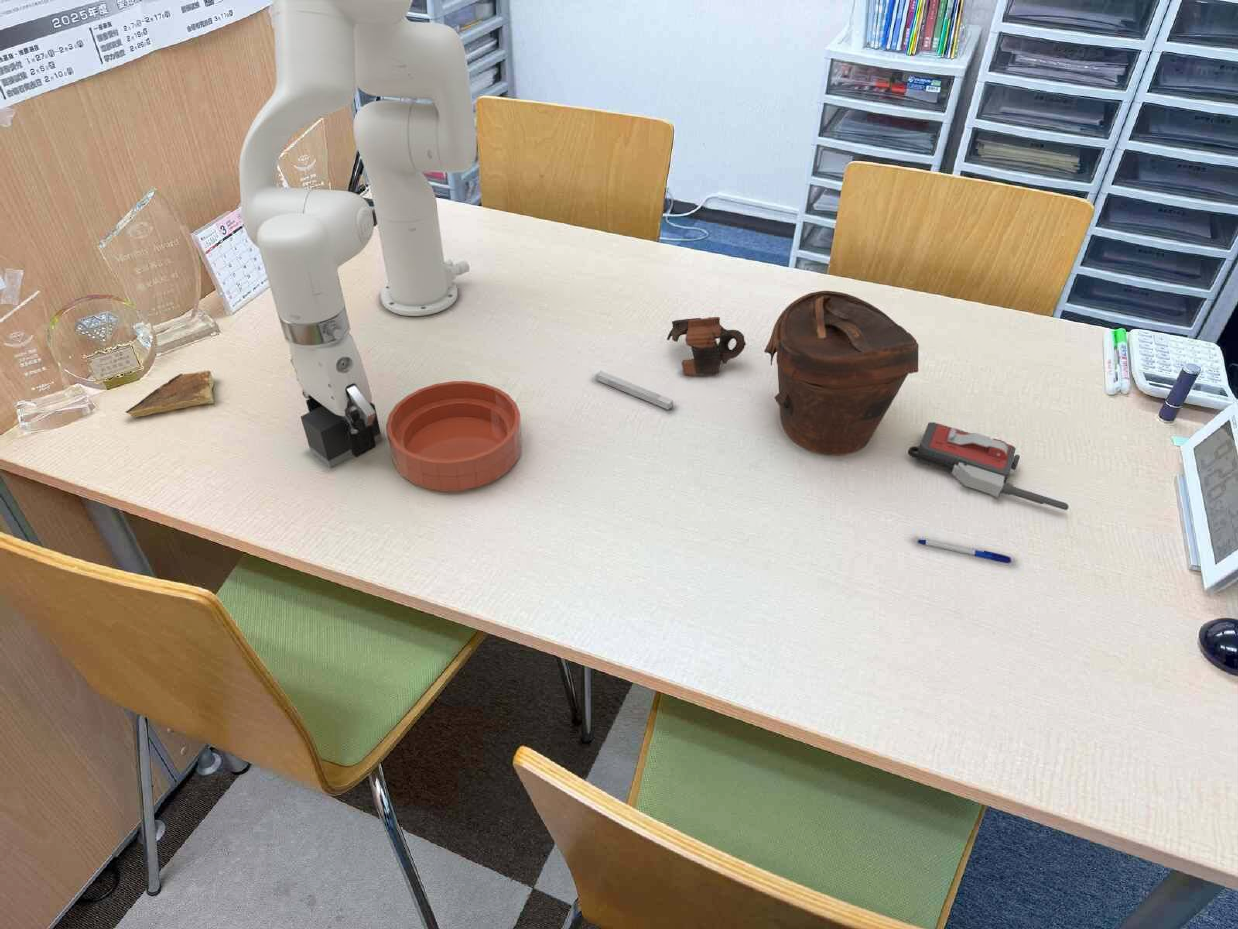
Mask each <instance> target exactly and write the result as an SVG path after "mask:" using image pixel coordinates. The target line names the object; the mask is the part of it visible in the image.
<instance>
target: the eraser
mask: <svg viewBox="0 0 1238 929" xmlns="http://www.w3.org/2000/svg"><path fill="white" fill-rule="evenodd" d="M370 405H371V407H372V408H373V409H374V411H375V413H376V415H375V418H374V423H373V425H372V430H373V434H374V439H375V443H376V444H378V443H379V442H382V441H383V437H382V432H381V428H380V422H379V419H378V414H377V410H376V406H375V403H373V402H371V403H370ZM352 406H354V405H353V404H352V402H351V401H349V402H348V403H347V408H346V409H348V408H350V407H352ZM346 409H345V410H346ZM349 415H350V417H351V419H352V420H353V422H354V423H355V422H356V421H357V420H359V419H360V413H359V412H358V410H355V411H353V412H351V413H349ZM300 420H301V423H302V426H303V430H304V434H305V437H306V441H307V443H308V447H309V451H310V453H311V454H312V455H313V456H315V458H317V459H319V460H320V461H321V462H322V463H323V464H324V465H325V466H326V467H328V468H329V469H332V468H333V467H334V468H335V467H336V466H337V465H339V464H341V463H343V462H344V461H346V460H348V459H350V458H352V457H354V456H353V455H352V451H351V447H350V443H349V439H348V435H347V432H348V431H349V428H348V427H347V425H346V423H345V421H344V420H343V418H342V416H339V415H336V414H334V413H333V412H331V411H330V410H329V409H327V408H326V407H325V406H321V407H319V408H317V409H315V410H313V411H311V412H309V411H308V412H307V413H305V414H302V415H301V416H300Z"/></svg>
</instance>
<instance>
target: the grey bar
mask: <svg viewBox="0 0 1238 929" xmlns="http://www.w3.org/2000/svg"><path fill="white" fill-rule="evenodd" d="M596 381H598V382H600V383H603V384H604V385H608V386H610V387H613V388H615V389H618V390H620V391H622V392H625V393H626V394H629V395H631V396H634V397H637V398H639V399H641V400H643V401H646V402H649V403H651V404H652V405H656V406H657V407H660V408H663V409H665V410H668V411H669V410H670V409H672V408H673V406H674V400H673V399H670V398H668V397H666V396H664V395H661V394H659V393H656V392H653V391H652V390H649V389H646V388H644V387H641V386H640V385H637V384H634V383H632V382H629V381H626V380H625V379H622V378H620V377H617V376H614V375H612V374H610V373H607V372H605V371H603V370H600V371H599V372H598V373H596Z"/></svg>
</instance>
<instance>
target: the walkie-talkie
mask: <svg viewBox="0 0 1238 929" xmlns="http://www.w3.org/2000/svg"><path fill="white" fill-rule="evenodd" d="M1015 453H1016V447H1015V446H1014V445H1012V444H1009V443H1007V442H1006V441H1004V440H1002V439H997V438H992V437H990V436H988V435H984V434H981V433H977V432H974V433H971V432H968V431H964V430H961V429H958V428H954V427H951V426H948V425H945V424H942V423H941V424H940V423H937V422H934V421H933V422H932V421H931V422H930V421H928V423H927V425H926V428H925V431H924V434H923V436H922V439H921V441H920V443H919V447H918V446H913V445H912V446H910V447H909V448H908V451H907V454H908V455H909V456H910V457H912V458H913V459H915V460H916V461H917V462H918V463H920V464H922V465H925V466H928V467H932V468H935V469H938V470H942V471H944V472H948V473H951V475H953V477H954V478H955V479H956V480H958V481H959V482H960V483H961V484H963V486H965V487H967V488H971V489H974V490H977V491H980V492H983V493H987V494H989V495H991V496H993V497H996V498H998V497H999V495H1000V493H1002V494H1004V495H1008V496H1011V495H1012V496H1014V497H1016V498H1017V497H1018V498H1021V499H1024V500H1028V501H1030V502H1034V503H1037V504H1040V505H1043V504H1044V505H1047V506H1051V507H1054V508H1058V509H1061V510H1063V511H1068V509H1069V504H1068V503H1067V502H1064V501H1061V500H1058V499H1054V498H1051V497H1048V496H1045V495H1041V494H1038V493H1035V492H1032V491H1028V490H1025V489H1022V488H1019V487H1016V486H1014V485H1013V484H1011V482H1012V480H1011V479H1009V477H1010V476H1011V477H1013V476H1014V474H1015V472H1016V469H1017V466H1018V464H1019V462H1020V458H1021V457H1020V454H1019V455H1018V454H1015Z"/></svg>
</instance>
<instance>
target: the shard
mask: <svg viewBox="0 0 1238 929" xmlns="http://www.w3.org/2000/svg"><path fill="white" fill-rule="evenodd" d="M214 384H215V381H214V378H213V377H212V371H211V370H203V371H197V372H191V373H179V374H178V375H175V376H174V377H172V378H171V379H170V380H168V381H167V382H166V383H164V384H162V385H160V386H159V387H158V388H155V389H154V390H153V391H152V392H150V393H149V394H148V395H146V396H145V397H144V398H143V399H141V400H140V401H139V402H138V403H137V404H135V405H133V406H132V407H130V408H129V409H127V410H125V414H127V415H131V417H132V418H133V419H136V418H138V417H139V418H140V417H146V416H150V415H152V414H158V413H166V412H170V411H173V410H174V411H175V410H179V409H185V408H191V407H194V406H199V405H201V406H203V405H206V404H209V405H211V404H214V403H215V401H214V395H213V391H212V390H213V387H214Z"/></svg>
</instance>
